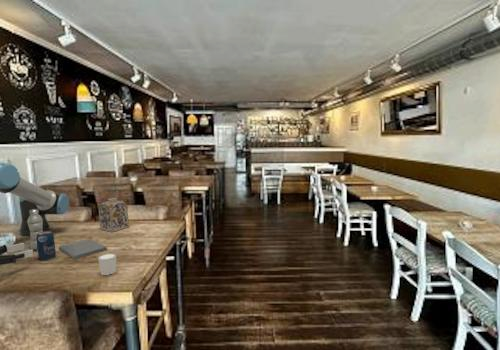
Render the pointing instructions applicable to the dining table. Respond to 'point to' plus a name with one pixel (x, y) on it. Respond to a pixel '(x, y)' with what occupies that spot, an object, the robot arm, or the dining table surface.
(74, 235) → the dining table surface
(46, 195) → the robot arm
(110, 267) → the white short cylinder
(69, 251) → the slate board
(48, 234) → the soda can
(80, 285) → the dining table surface
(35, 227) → the plastic bottle
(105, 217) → the decorative jar
